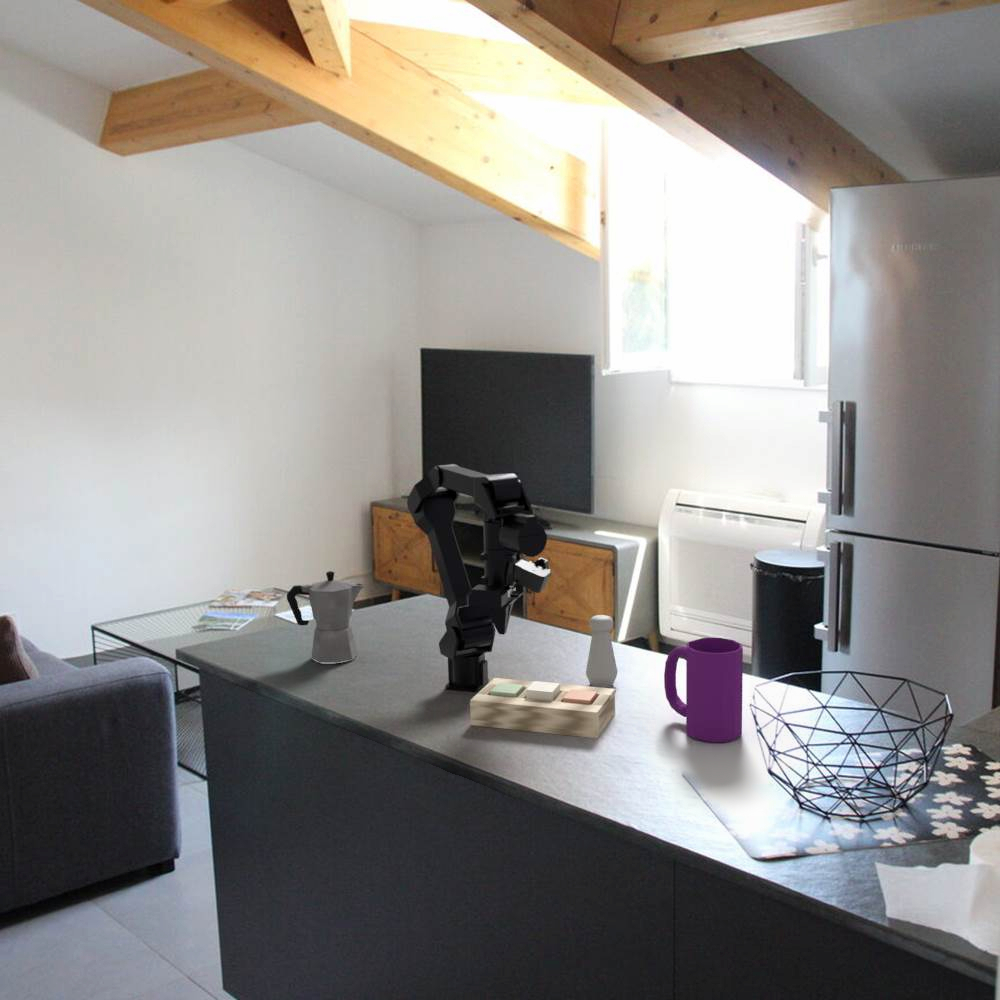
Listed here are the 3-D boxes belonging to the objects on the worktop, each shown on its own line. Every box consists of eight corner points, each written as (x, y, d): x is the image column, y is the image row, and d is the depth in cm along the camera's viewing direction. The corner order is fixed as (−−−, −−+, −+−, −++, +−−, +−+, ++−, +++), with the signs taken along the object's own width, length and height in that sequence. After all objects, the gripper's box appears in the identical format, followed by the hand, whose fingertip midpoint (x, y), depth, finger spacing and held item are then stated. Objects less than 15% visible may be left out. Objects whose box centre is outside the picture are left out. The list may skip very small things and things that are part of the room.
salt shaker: (615, 690, 211) (615, 621, 208) (584, 689, 212) (583, 620, 210) (619, 680, 216) (618, 612, 214) (588, 679, 217) (587, 611, 215)
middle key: (526, 708, 195) (526, 689, 195) (534, 700, 200) (534, 681, 199) (552, 711, 194) (552, 692, 193) (560, 702, 198) (560, 683, 198)
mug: (715, 748, 182) (715, 657, 180) (646, 722, 195) (646, 636, 192) (754, 734, 188) (755, 645, 185) (685, 709, 200) (685, 625, 198)
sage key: (490, 710, 198) (489, 691, 197) (499, 701, 202) (498, 682, 201) (515, 712, 196) (515, 693, 196) (524, 703, 200) (524, 684, 200)
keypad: (470, 725, 195) (470, 700, 194) (494, 701, 206) (494, 677, 206) (597, 738, 188) (597, 712, 187) (615, 713, 199) (615, 688, 198)
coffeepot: (364, 648, 240) (360, 564, 237) (369, 662, 231) (365, 574, 228) (289, 655, 237) (284, 569, 234) (291, 669, 228) (286, 580, 225)
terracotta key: (563, 717, 193) (563, 698, 193) (571, 708, 198) (570, 689, 197) (590, 720, 192) (589, 700, 191) (597, 710, 196) (597, 691, 196)
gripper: (528, 561, 189) (529, 653, 191) (560, 538, 206) (561, 622, 209) (464, 557, 192) (466, 647, 195) (501, 535, 210) (503, 618, 212)
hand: (502, 633), depth 203 cm, fingers closed
